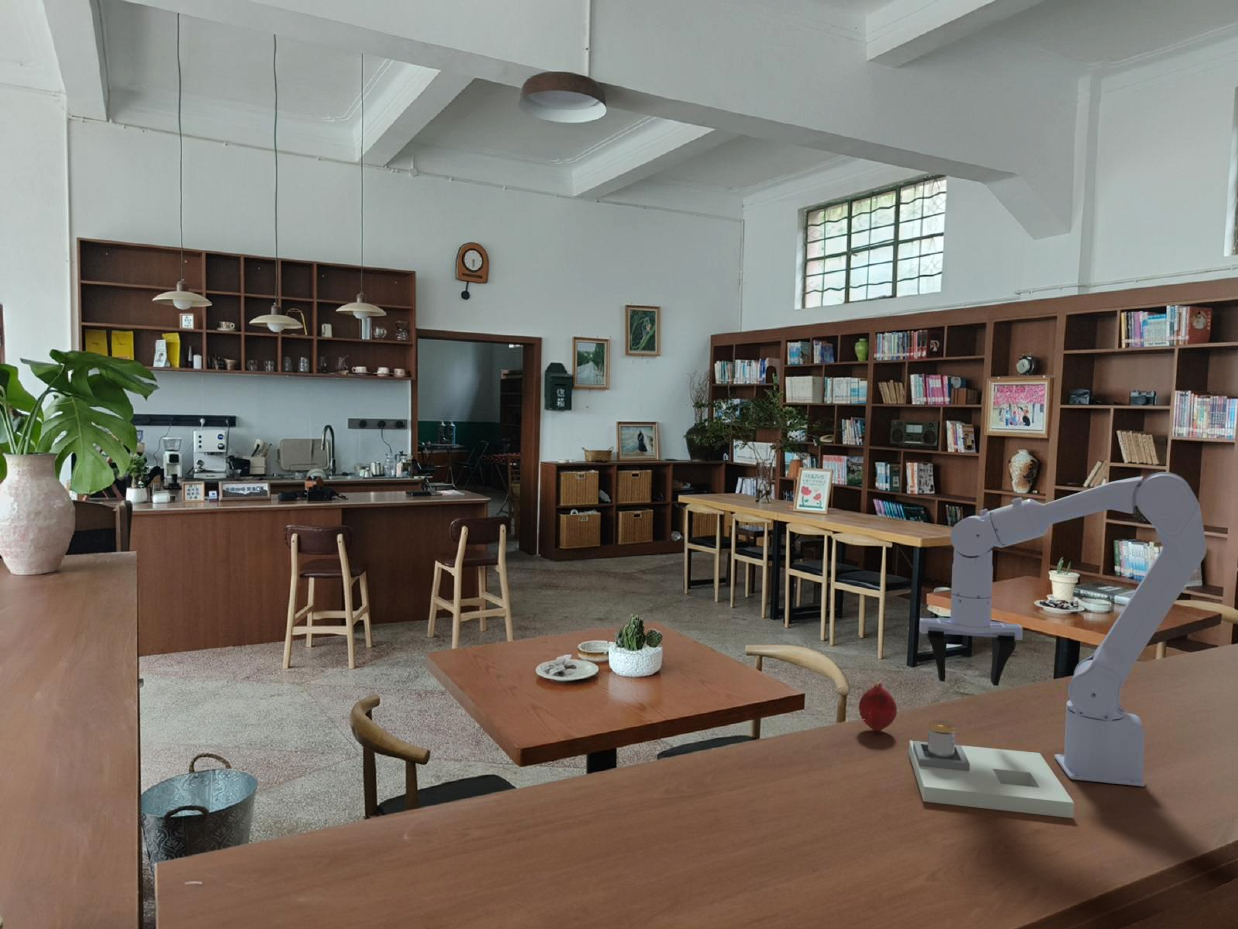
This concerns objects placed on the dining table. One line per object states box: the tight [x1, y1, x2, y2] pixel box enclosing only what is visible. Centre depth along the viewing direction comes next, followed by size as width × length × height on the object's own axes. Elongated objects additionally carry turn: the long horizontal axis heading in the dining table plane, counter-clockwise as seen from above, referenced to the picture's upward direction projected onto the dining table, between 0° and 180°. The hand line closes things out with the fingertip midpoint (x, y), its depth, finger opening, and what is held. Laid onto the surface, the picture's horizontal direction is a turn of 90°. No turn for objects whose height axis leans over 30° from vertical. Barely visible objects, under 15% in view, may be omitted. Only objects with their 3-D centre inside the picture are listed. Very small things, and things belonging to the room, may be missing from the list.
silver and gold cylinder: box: [927, 719, 956, 760], centre depth 117 cm, size 4×4×7 cm
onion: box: [858, 681, 898, 732], centre depth 133 cm, size 6×6×8 cm
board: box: [908, 740, 1075, 819], centre depth 114 cm, size 18×16×3 cm
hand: (967, 681), depth 128 cm, fingers open, 7 cm apart
